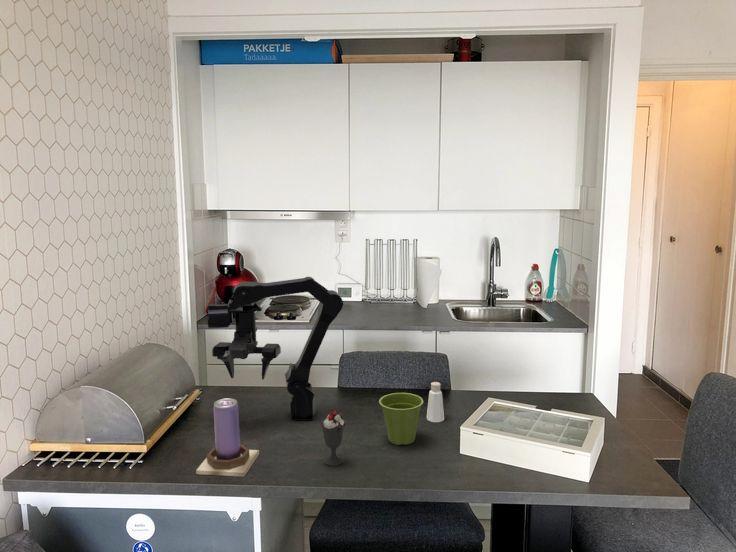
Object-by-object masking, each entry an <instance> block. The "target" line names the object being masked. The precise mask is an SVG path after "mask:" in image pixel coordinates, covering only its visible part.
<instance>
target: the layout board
mask: <svg viewBox="0 0 736 552" xmlns="http://www.w3.org/2000/svg"><path fill="white" fill-rule="evenodd" d="M240 451H241V456H240V457H238V458H235V459H231V460H217V459H216V446H214V447H212V448H211V450H210V451H209V452H208V453H207V454H206V458H205V459H204V460H203V461H202V463H201V464H200V465H199V466H198V467H197V468H196V470H195V474H196V475H203V476H204V475H206V476H224V477H243V478H244V477H245V476H246V474H248V472H249V470H250V469H251V467H252V465H253V464H254V462H255V461H256V459H257V458H258V456H259V455H260V450H259V449H249V448H248V447H246V446H245V445H244V444H241V443H240Z"/></svg>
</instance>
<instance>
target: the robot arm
mask: <svg viewBox="0 0 736 552" xmlns="http://www.w3.org/2000/svg"><path fill="white" fill-rule="evenodd" d="M302 293H308V294H310V295H311V297H314V299H316V300H317V301H318V302H319V305H318V309H317V317H316V319H315V322H314V324H313V326H312V328H311V331H310V333H309V336H308V337H307V340H306V342H305V344H304V346H303V349H302V351H301V354H300V356H299V358H298V360H297V361H296V362H295V364H293V363H291V362H290V363H289V365H288V369H287V370H286V372H285V373H284V377H285V384H286V389H287V392H288V393H289V395H292V397H291V401H290V402H289V405H290V409H289V411H290V416H291V417H290V420H294V421H313V419H314V418H315V416H316V415H317V410H316V400H315V399H316V397H315V395H316V394H315V392H314V390H313V386H312V384H311V382H309V379H310V373H311V369H312V365H313V363H314V361H315V358H316V356H317V354H318V351H319V349H320V347H321V345H322V343H323V341H324V339H325V336H326V334H327V331H328V329H329V327H330V325H331V324H332V322H334V321H335V319H336V318H337V317H338V315H339V314H340V312H341V311H342V309H343V307H344V301H343V298H342V297H341V296H340V294H339V293H338V292H337V291H336V290H333V289H331V290H328V288H326V287H325V286H323V285H322V284H321V283H320V282H318V281H316V279H314V278H313V277H312V276H306V277H301V278H294V279H286V280H279V281H271V282H258V281H241V282H237V284H236V285H235V286H234V289H233V295H232V296H231V297H230V299H228V300H229V301H228V303H222V304H219V303H218V304H215V303H210V304H208V306H207V309H208V310H207V313H208V314H207V327H208V329H209V330H210V329H225V328H229V327H230V326H231V325H232V324H233V323H234V326H235V327H234V328H235V331H234V332H233V340H232V341H230V342H224V341H223V342H221V341H219V342H218V343H217V344H215V345H214V346H213V347H212V350H211V354H212V357H213V358H215V357H216V359H217V360H221V362H222V363H223V364H224V366H225V368H226V369H227V372H228V374H229V376H230V379H234V378H235V362H234V360H235V359H239V360H246V359H247V358H248V356H249V355H251V354H252V355H253V354H257V355H258V354H260V355H261V356H262V358H260V359H261V361H260V362H261V379H262V380H265V378H266V376H267V372H268V370H269V369H268V368H269V366H270V364H271V361H273V360H274V359H276V358H277V357H278V356H279V355H280V354H281V352H282V350H281V345H280V344H279V343H268V342H267V343H266V344H265V345H264V346H258V340H257V331H258V327H257V325H256V312H262V310H263V309H262V306H261V305H260V304H258V302H259V301H262V300H264V299H267V298H273V297H281V296H286V295H294V294H302ZM241 306H242V307H241ZM233 313H234V321H233Z"/></svg>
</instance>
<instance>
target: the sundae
mask: <svg viewBox="0 0 736 552" xmlns="http://www.w3.org/2000/svg"><path fill="white" fill-rule="evenodd" d="M343 417H344V416H343V414H342V413H340V411H337V410H336V411H335V410H333V407H331V408H330V410H329V413H328V415H327V416H326V418H325V419H323V420H322V421H321V422H320V423H319V426H320V427H321V428H322V432H323V437H324V438H323V439H324V443H325V445H326V446H327V447H328V448H329V449H330V450H331V451H330V456H328V457H325V458H324V459H323V463H324V464H325V465H327V466H333V467H334V466H340V465H342V463H344V458H342V457H341V456H338V455H337V448H339V447H340V446H341V444H342V439H343V433H344V428H346V426H347V421H346V420H345V419H343Z"/></svg>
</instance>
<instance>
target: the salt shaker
mask: <svg viewBox="0 0 736 552" xmlns="http://www.w3.org/2000/svg"><path fill="white" fill-rule="evenodd" d="M430 388H431V389H430V390H429V393H428V400H427V401H428V402H427V411H426V420H427V421H428V422H431V423H441V422H444V420H445V413H444V399H443V392H442V390H441V383H440V382H438V381H433V382H431V383H430Z"/></svg>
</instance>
